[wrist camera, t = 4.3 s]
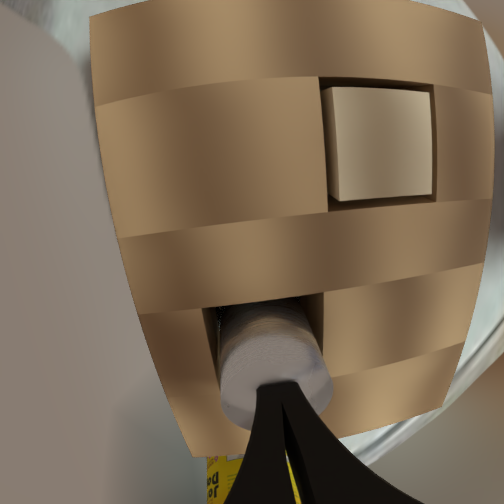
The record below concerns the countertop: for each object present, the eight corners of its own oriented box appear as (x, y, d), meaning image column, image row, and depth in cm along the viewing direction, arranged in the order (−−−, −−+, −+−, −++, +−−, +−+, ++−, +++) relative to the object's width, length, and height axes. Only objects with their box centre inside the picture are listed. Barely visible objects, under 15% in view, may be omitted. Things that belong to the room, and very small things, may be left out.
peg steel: (304, 282, 14) (336, 348, 10) (305, 351, 16) (330, 422, 11) (213, 293, 14) (211, 366, 10) (226, 362, 16) (229, 438, 11)
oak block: (425, 38, 13) (481, 22, 9) (411, 362, 21) (441, 406, 17) (127, 45, 13) (89, 17, 8) (195, 400, 21) (192, 457, 16)
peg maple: (376, 98, 14) (429, 92, 10) (380, 174, 16) (431, 194, 11) (300, 98, 14) (332, 87, 10) (306, 179, 15) (339, 201, 11)
